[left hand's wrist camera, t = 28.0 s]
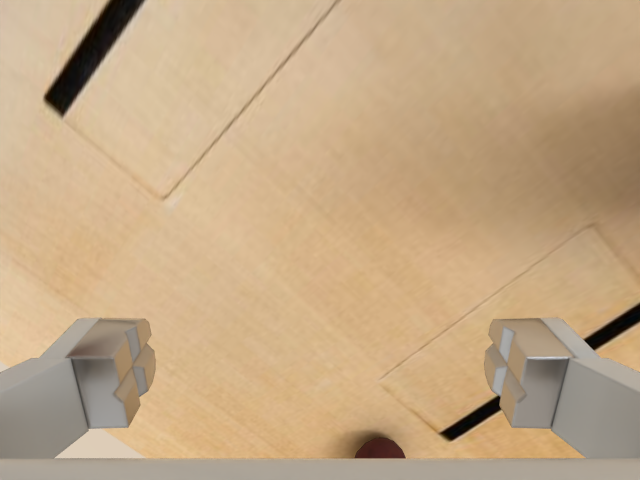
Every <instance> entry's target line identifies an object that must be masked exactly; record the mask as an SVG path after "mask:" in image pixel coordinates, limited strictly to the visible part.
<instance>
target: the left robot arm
mask: <svg viewBox="0 0 640 480" xmlns="http://www.w3.org/2000/svg"><path fill="white" fill-rule="evenodd" d="M150 336H151V330H150V325H149V322H148V321H147V320H146V319H133V318H81V319H77V320H76V321H75V322H74V323H73V324H72V325H71V326H70V327H69V328H68V329H67V330H66V331H65V332H64V333H63V334H62V335H61V336H60V337H59V338H58V339H57V340H56V341H55V342H54V343H53V344H52V345H51V346H50V347H49V348H48V349H47V350H46V351H45V352H44V354H43V355H42V356H41V357H40V358H31V359H29V360H27V361H24V362H22V363H20V364H18V365H15V366H13V367H11V368H9V369H7V370H4V371H2V372H0V480H640V372H638V371H636V370H633V369H631V368H629V367H627V366H624V365H622V364H620V363H618V362H616V361H613V360H611V359H609V358H600V356H599V355H598V354H597V353H596V352H595V351H594V350H593V349H592V348H591V347H590V346H589V345H588V344H587V343H586V342H585V341H584V340H583V339H582V338H581V337H580V336H579V335H578V334H577V333H576V332H575V331H574V330H573V329H572V328H571V327H570V326H569V325H568V324H567V323H566V322H565V321H564V320H563V319H560V318H557V317H556V318H528V319H494V320H493V321H492V323H491V325H490V329H489V336H490V338H491V340H492V341H493V344H492V345H491V346H490V347H489V348H488V349H487V350H486V353H485V361H484V366H485V375H486V379H487V382H488V384H489V386H490V388H491V390H492V391H493V392H494V393H496V394H497V395H499V396H500V397H501V400H500V407H501V409H502V411H503V412H504V414H505V416H506V418H507V420H508V422H509V423H510V425H511V427H512V428H545V429H551V431H553V432H554V433H555V434H556V435H558V436H559V437H560V438H561V439H563V440H564V441H565V442H567V443H568V444H569V445H570V446H572V447H573V448H574V449H575V450H577V451H578V452H579V453H580V454H582V455H583V456H584V457H586V458H477V459H123V458H122V459H121V458H120V459H118V458H114V459H113V458H111V459H108V458H107V459H105V458H97V459H96V458H95V459H94V458H89V459H88V458H86V459H85V458H80V459H79V458H77V459H76V458H70V459H69V458H66V459H65V458H63V459H62V458H61V459H60V458H56V459H55V457H56V456H57V455H58V454H60V453H61V452H62V451H63V450H65V449H66V448H67V447H69V446H70V445H71V444H72V443H74V442H75V441H76V440H77V439H79V438H80V437H81V436H83V435H84V434H85V433H86V432H88V429H94V428H128V427H129V425H130V423H131V422H132V420H133V418H134V416H135V414H136V412H137V411H138V409H139V407H140V400H139V397H140V396H141V395H143V394H144V393H146V392H147V391H148V390H149V388H150V386H151V384H152V382H153V378H154V374H155V366H156V359H155V353H154V350H153V349H152V348H151V347H150V346H149V345H148V344H147V341H148V340H149V338H150Z"/></svg>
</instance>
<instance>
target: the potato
mask: <svg viewBox="0 0 640 480" xmlns="http://www.w3.org/2000/svg"><path fill="white" fill-rule="evenodd" d="M355 459H406V458H405V455H404V453H403V451H402V449H401V448H400V447H399V446H398V445H397V444H396V443H395V442H394V441H392V440H390V439H387V438H376V439H373V440H371V441H369V442H367V443H365V444H364V445H363V446H362V447H361V448H360V449H359V451H358V452H357V453H356V456H355Z"/></svg>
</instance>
